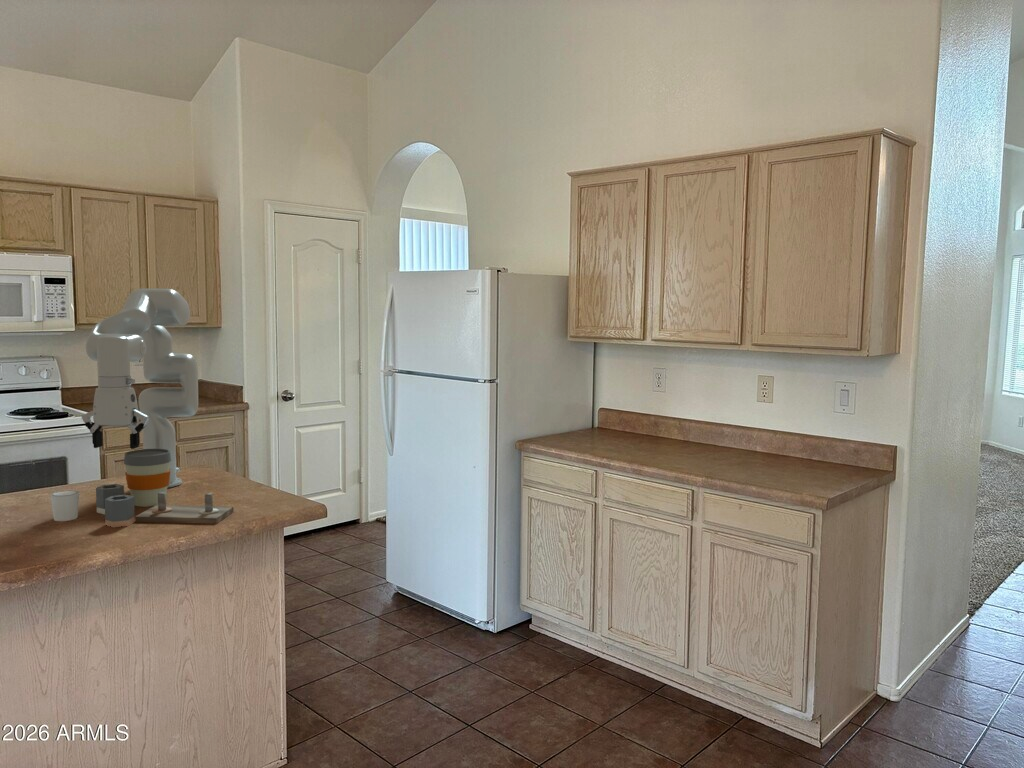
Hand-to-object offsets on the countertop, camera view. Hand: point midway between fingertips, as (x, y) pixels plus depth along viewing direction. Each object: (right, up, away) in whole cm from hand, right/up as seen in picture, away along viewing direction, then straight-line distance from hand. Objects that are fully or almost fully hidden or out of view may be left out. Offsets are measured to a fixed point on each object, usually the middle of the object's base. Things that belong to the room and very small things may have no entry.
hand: (116, 447), depth 201 cm
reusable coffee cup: (-3, -18, +24) cm, 31 cm away
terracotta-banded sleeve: (0, -21, +2) cm, 21 cm away
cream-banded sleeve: (-9, -19, +14) cm, 25 cm away
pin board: (+14, -20, +10) cm, 26 cm away
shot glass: (-17, -20, +6) cm, 27 cm away
